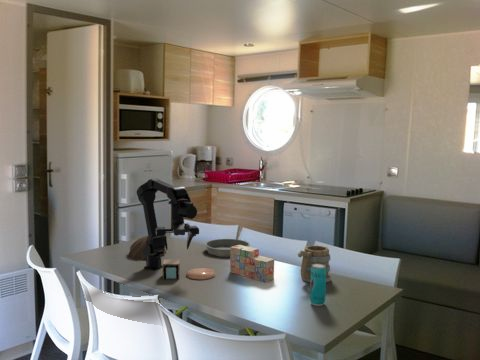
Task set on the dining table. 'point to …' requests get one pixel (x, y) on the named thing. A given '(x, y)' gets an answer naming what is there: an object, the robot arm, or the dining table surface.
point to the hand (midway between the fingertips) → (177, 249)
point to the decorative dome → (140, 249)
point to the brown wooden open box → (171, 262)
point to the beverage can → (318, 284)
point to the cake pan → (218, 246)
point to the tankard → (314, 261)
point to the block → (170, 271)
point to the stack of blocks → (251, 263)
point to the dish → (201, 273)
